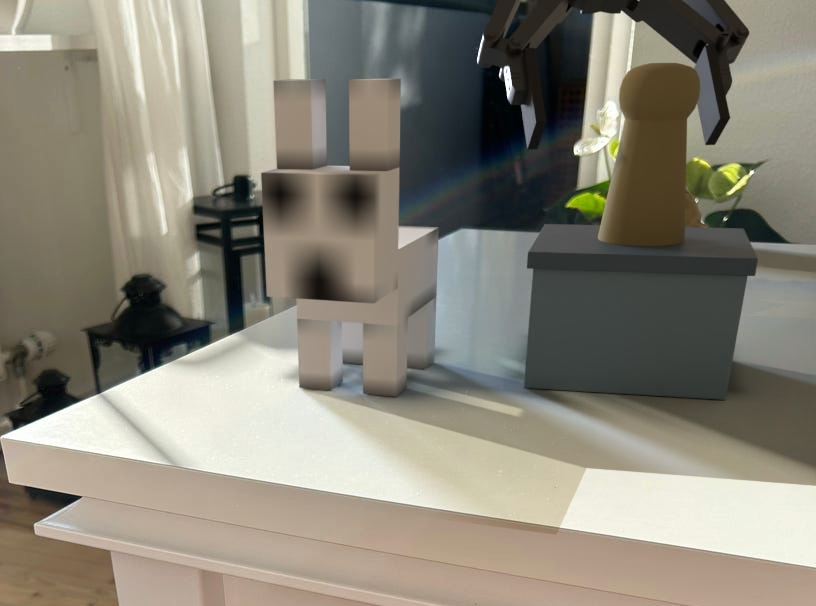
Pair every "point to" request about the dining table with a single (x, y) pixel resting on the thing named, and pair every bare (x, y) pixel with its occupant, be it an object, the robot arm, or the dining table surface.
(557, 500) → the dining table surface
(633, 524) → the dining table surface
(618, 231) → the cork
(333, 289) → the blocky rabbit figurine
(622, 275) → the container
